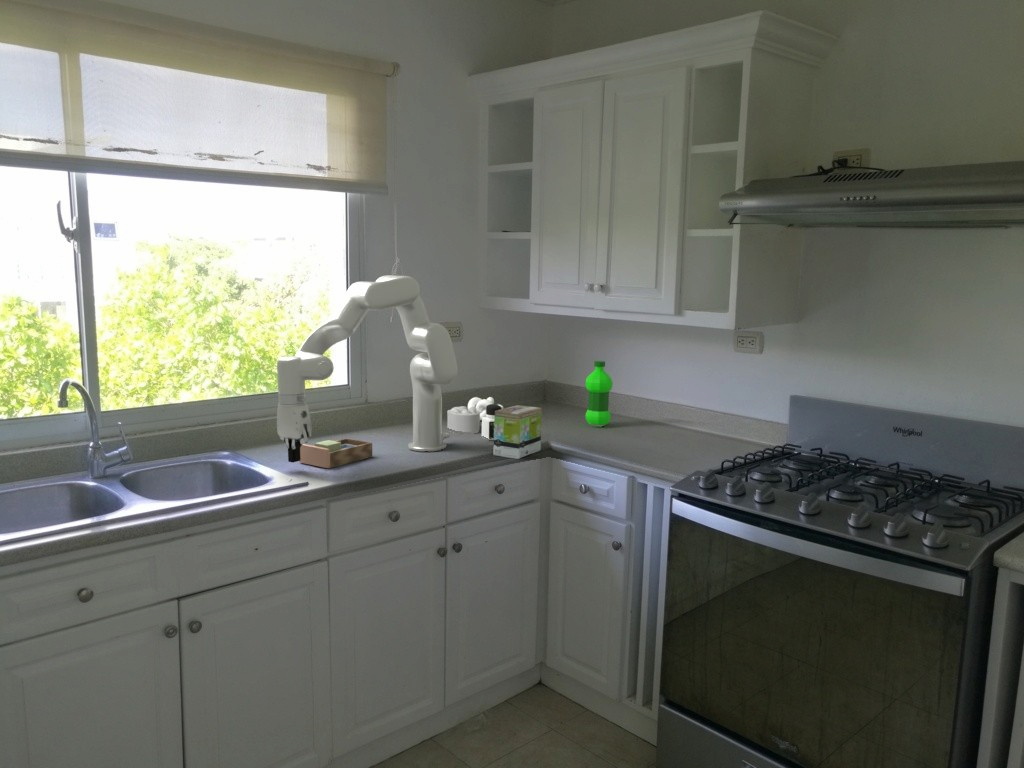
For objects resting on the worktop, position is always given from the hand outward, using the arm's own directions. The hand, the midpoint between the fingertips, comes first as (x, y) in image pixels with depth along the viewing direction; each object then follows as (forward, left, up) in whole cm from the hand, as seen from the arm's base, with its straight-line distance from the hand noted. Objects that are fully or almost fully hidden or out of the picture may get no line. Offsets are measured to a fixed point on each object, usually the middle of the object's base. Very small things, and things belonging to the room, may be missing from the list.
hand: (294, 461), depth 231 cm
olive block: (-13, 0, -1) cm, 13 cm away
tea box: (-59, +39, -3) cm, 71 cm away
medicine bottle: (-73, +20, -3) cm, 75 cm away
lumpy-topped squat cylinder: (-77, +4, -3) cm, 77 cm away
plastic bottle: (-115, +39, -3) cm, 121 cm away
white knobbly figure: (-97, -3, -3) cm, 97 cm away
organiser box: (-18, 0, -3) cm, 18 cm away
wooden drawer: (-16, 0, -3) cm, 16 cm away
